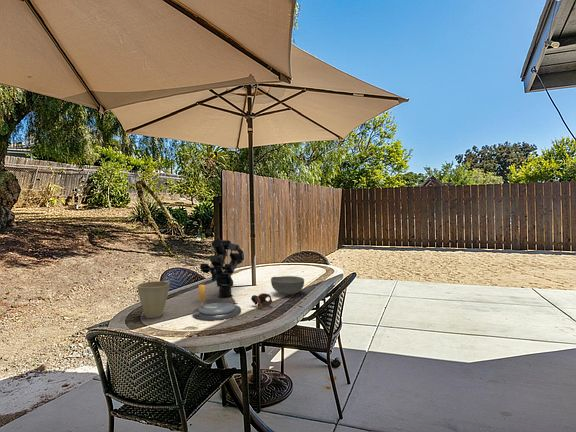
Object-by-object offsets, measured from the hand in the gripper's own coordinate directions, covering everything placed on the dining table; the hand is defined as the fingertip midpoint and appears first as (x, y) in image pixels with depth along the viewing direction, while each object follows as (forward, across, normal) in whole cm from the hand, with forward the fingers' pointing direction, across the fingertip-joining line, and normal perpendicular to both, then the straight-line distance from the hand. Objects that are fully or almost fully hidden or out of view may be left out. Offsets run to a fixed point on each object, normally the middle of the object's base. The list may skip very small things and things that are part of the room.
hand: (212, 281), depth 193 cm
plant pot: (+26, -22, -7) cm, 34 cm away
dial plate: (+19, +8, -1) cm, 21 cm away
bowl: (-10, +36, +29) cm, 48 cm away
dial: (+18, +8, -2) cm, 20 cm away
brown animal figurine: (+9, +28, +10) cm, 31 cm away
